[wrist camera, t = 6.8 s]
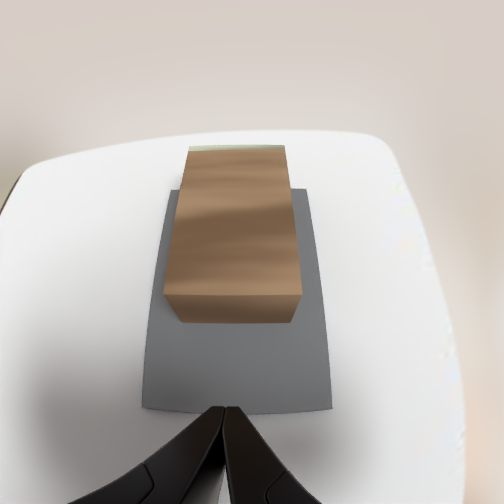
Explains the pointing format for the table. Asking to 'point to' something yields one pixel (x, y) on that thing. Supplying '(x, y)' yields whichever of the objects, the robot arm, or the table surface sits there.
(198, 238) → the walnut block
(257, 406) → the felt mat
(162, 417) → the table surface
